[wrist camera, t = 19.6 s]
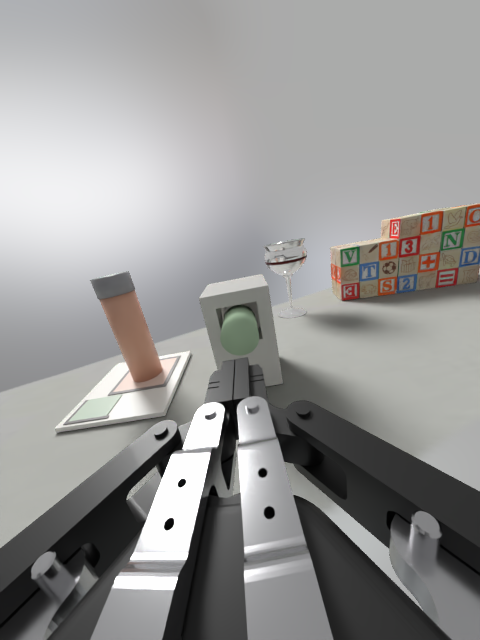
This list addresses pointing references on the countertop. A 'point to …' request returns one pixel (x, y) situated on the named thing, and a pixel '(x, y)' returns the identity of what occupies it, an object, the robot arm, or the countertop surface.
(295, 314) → the wineglass
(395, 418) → the countertop surface
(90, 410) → the white square board
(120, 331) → the terracotta marker
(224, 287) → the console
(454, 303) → the countertop surface
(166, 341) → the countertop surface
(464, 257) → the stack of blocks
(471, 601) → the robot arm
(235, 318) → the button
